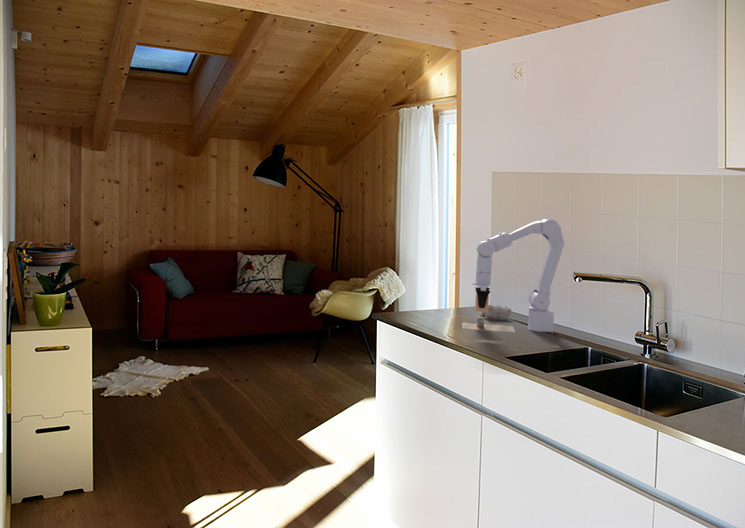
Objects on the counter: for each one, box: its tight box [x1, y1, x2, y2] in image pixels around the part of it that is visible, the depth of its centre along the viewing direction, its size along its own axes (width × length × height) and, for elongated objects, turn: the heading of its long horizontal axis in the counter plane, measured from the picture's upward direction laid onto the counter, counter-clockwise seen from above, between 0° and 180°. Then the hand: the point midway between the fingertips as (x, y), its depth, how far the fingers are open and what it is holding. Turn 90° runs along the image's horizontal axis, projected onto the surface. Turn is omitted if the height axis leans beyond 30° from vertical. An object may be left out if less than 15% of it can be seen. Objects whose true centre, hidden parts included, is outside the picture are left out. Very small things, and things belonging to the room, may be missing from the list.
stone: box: [479, 304, 512, 321], centre depth 270 cm, size 8×12×7 cm, turn 104°
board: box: [461, 316, 516, 333], centre depth 250 cm, size 20×12×4 cm, turn 82°
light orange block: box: [474, 293, 490, 312], centre depth 251 cm, size 5×5×6 cm
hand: (481, 306), depth 251 cm, fingers closed on light orange block, 5 cm apart
